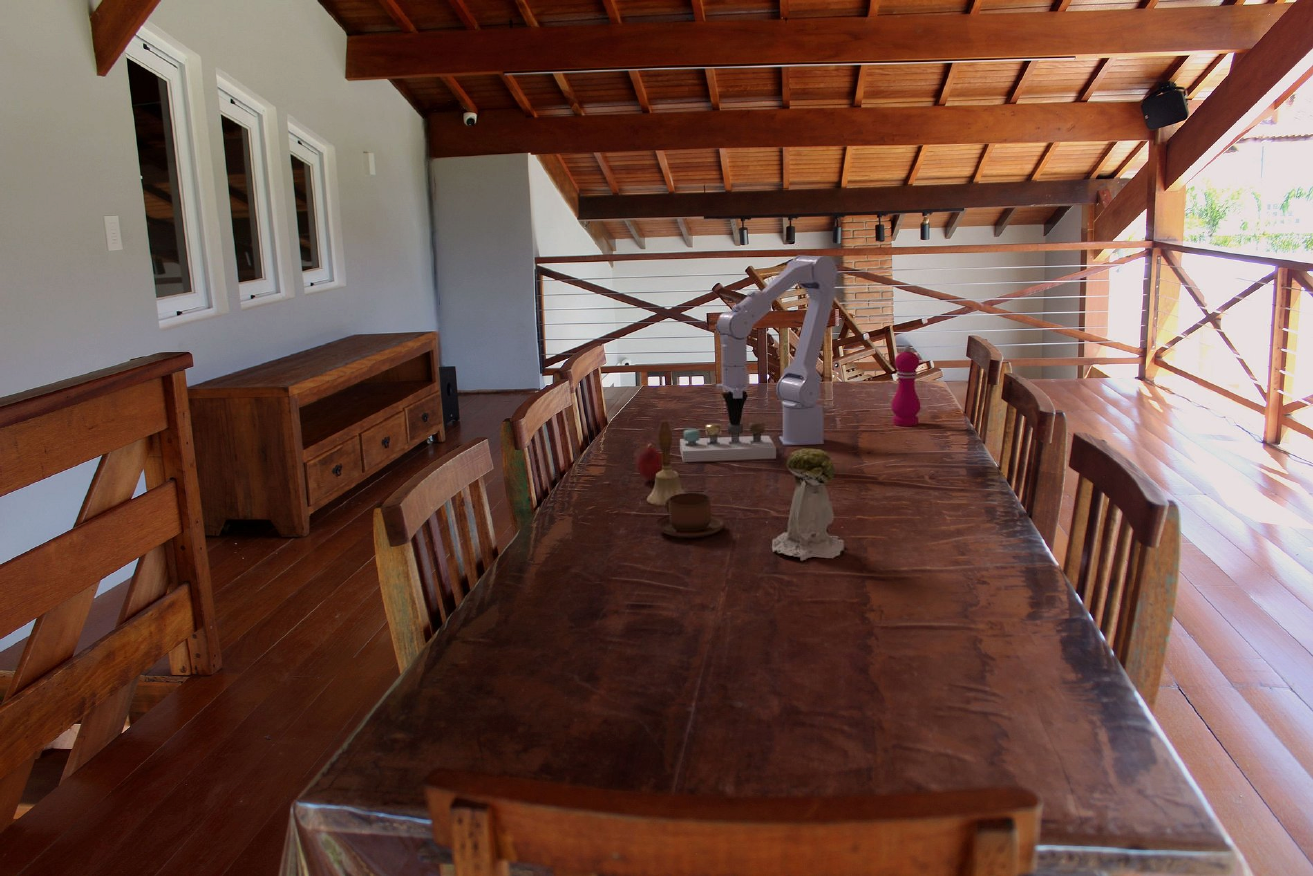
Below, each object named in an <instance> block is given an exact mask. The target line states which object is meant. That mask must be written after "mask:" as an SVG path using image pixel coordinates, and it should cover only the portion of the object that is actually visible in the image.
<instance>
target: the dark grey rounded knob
mask: <svg viewBox="0 0 1313 876" xmlns="http://www.w3.org/2000/svg"><path fill="white" fill-rule="evenodd" d="M726 425H727V426H726V433H727V434H728V435H731V436H730V437H731V442H732V443H739V437H740V435H742V434H743V433H744V424H743V422H740V424H730V422H729V423H727V424H726Z"/></svg>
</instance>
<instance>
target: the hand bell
mask: <svg viewBox="0 0 1313 876" xmlns="http://www.w3.org/2000/svg"><path fill="white" fill-rule="evenodd" d="M657 434H658V444H659V448H660V450H661V455H662V465H663V466H662V468H663V469H662V470H661V471H660V472H658V473H657V474H656V479H655V480H654V486H653V489H652V491H651V493H650V494H649V495H648V496H647V498H646V502H647V503H649V504H650V505H653V506H660V507H666V506H665V504H666V501H667V499H669V498H670V497H672V496H674V495H678V494H684V493H686V492H685V491H684V490H683V488H682V485H681V482H680V475H679V473H678V472H677V471H675V470H673V469H672V462H671V446H672V440H673V439H672V438H673V436H672V430H671V427H670V425H669V421H668V420H665V419H662V420H660V425H659V428H658V433H657Z"/></svg>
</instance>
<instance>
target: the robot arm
mask: <svg viewBox="0 0 1313 876" xmlns="http://www.w3.org/2000/svg"><path fill="white" fill-rule="evenodd" d="M838 271H839V270H838V268H837V265H836V264H835V262H834V259H832V258H831V257H830V256H827V255H818V256H817V255H804V254H799V255H796V256H795V257H794V258H793V259H792V260H790V261H788V262H787V265H786V267H785V269H783V270H782V271H781V272H779V274H778V275H777V276H776V277H775V278H774V279H773V280H772V281H771V282H769V283H768V285H767V286H765V287H764V288H763V289H762V290H759V289H758V290H754V291H749V292H747V293H746V297H745V298H744V299H743V300H741V302H739V303H738V304H734V305H733V306H732V309H731V311H729V310H727V311H724V312H723V313H721V314H719V317H718V319H717V322H716V323H715V325H714V326H715V330H716V332H717V334H718V336H719V342H720V349H721V351H720V352H721V354H720V356H721V358H720V359H721V360H720V361H721V383H716V389H722V390H725V391H727V392H722V393H721V396H722V398H723V400H724V402H725V406H726V409H727V411H726V412H727V414H728V415H727V416H728V420H729V421H728V422H729V423H730V424H740V423H741V420H742V415H743V409H744V407H745V403H746V401H747V400H748V393H747V391H746V390H747V388H749V383H748V373H747V372H748V368H747V367H748V366H747V364H748V362H747V360H748V358H747V355H748V354H747V337H748V336H750V334H751V332H752V330H753V327H754V325H755V324H756V323H757V322H758V321H760V320H761V319H762V318H763V317H764V316H765V315H767V314H768V313H769V312H770V311H771V310H772V305H773V304H772V303H773V302H774V301H776V300H777V299H778V298H779V297H781V296H782V295H783V294H785V293H786V292H788V291H789V290H790V289H791V288H793V287H794V286H796V285H799V286H800V287H801V288H802V289H803V290H804V291H805V292H806V295H808V296H807V297H808V298H809V301H808V305H807V309H806V312H805V316H804V320H803V323H802V326H801V331H800V335H799V339H798V342H797V345H796V349H795V352H794V357H793V361H792V362H791V363H790V364H788V365H787V367H785V368H784V369H783V372H782V375H781V377H780V379H779V380H778V381H777V383H776V390H775V392H776V396H777V397H778V399H780V400H781V401H780V404H781V405H782V435H781V436H779V440H780V441H781V443H782V445H784V446H801V445H802V446H805V445H806V446H807V445H824V444H825V442H824V410H823V406H822V405H821V404H816V403H817V402H818V401H819V398H820V396H821V386H820V385H821V381H822V380H821V379H822V377H821V375H820V373H819V371H818V370H817V364H818V361H819V357H820V354H821V353H820V352H821V349H822V345H823V341H824V339H825V335H826V331H827V327H828V323H829V319H830V316H831V311H832V308H833V305H834V301H835V297H836V287H835V286H836V285H835V283H836V280H837V276H838Z"/></svg>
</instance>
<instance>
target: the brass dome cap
mask: <svg viewBox="0 0 1313 876" xmlns="http://www.w3.org/2000/svg"><path fill="white" fill-rule="evenodd" d="M704 427H705V435H706V436H709V438H710V444H716V443H718V438H719V437H718V436H719V435H722V424H720V423H717V422H716V423H712V422H711V423H707V424H705V426H704Z"/></svg>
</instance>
